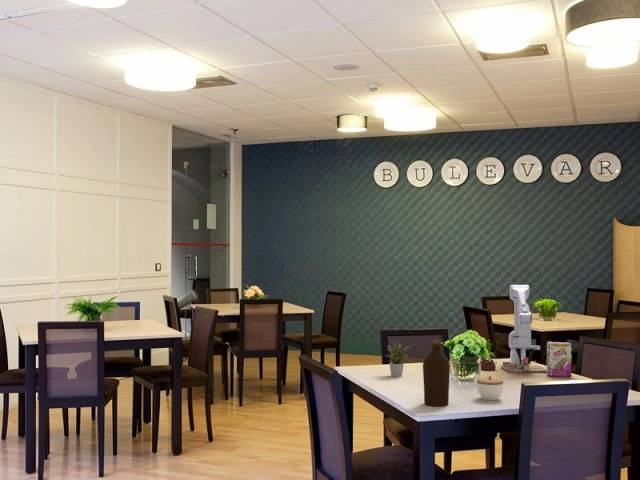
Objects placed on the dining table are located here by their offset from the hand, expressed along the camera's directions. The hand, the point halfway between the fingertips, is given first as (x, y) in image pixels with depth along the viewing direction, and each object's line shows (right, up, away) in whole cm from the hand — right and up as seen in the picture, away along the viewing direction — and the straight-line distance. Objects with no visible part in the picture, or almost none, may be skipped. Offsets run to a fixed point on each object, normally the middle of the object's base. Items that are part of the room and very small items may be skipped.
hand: (525, 363), depth 356 cm
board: (+2, -5, +7) cm, 9 cm away
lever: (+1, -3, +7) cm, 7 cm away
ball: (-2, -4, +9) cm, 10 cm away
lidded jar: (-34, -3, -66) cm, 74 cm away
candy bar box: (+14, -5, -8) cm, 17 cm away
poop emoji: (-16, -5, +11) cm, 20 cm away
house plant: (-66, -4, -13) cm, 67 cm away
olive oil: (-57, -3, -77) cm, 97 cm away
